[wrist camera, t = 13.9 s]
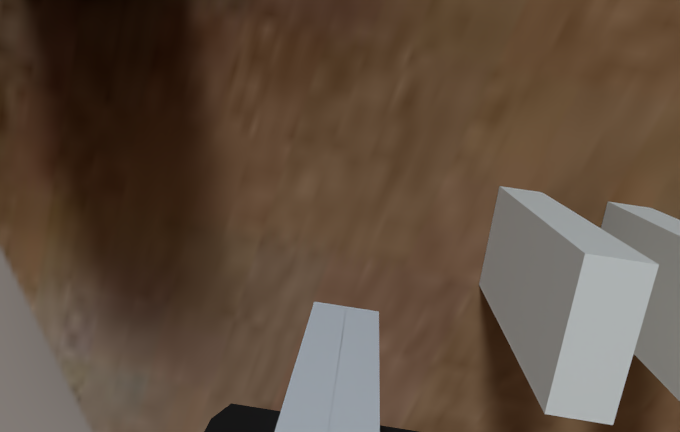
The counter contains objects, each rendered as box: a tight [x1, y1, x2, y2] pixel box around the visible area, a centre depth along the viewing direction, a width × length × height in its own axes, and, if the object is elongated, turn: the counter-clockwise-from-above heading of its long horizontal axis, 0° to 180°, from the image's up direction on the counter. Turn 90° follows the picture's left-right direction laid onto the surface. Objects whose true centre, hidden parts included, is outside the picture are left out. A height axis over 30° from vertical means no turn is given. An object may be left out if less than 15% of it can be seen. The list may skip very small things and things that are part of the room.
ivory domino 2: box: [601, 202, 680, 401], centre depth 20 cm, size 2×5×11 cm, turn 172°
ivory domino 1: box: [479, 186, 659, 425], centre depth 21 cm, size 2×5×11 cm, turn 172°
